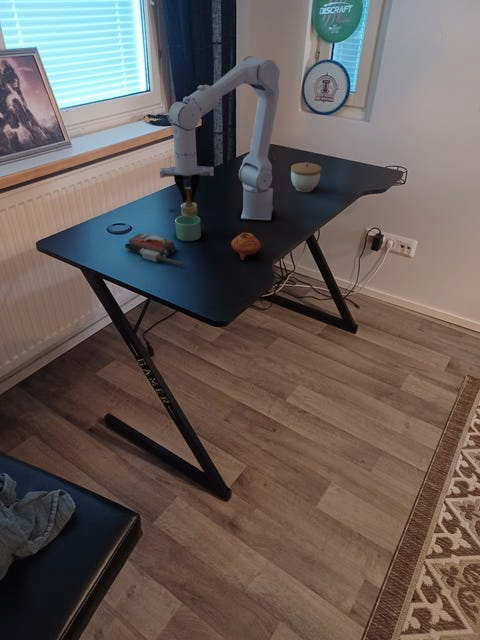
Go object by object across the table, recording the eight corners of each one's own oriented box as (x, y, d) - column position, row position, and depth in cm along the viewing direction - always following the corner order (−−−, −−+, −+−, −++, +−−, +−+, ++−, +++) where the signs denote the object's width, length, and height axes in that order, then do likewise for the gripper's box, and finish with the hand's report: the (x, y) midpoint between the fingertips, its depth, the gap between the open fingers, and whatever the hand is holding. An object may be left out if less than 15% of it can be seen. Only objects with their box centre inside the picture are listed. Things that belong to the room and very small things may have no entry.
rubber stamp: (197, 209, 134) (195, 184, 129) (197, 216, 130) (196, 190, 125) (181, 210, 133) (179, 185, 129) (181, 216, 129) (179, 191, 125)
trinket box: (315, 196, 160) (318, 169, 154) (286, 192, 163) (287, 165, 157) (322, 185, 168) (325, 159, 162) (293, 182, 171) (295, 156, 165)
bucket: (202, 230, 137) (202, 215, 134) (198, 241, 131) (197, 225, 128) (179, 229, 138) (178, 214, 135) (174, 240, 132) (172, 224, 129)
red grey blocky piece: (120, 253, 126) (181, 270, 118) (117, 239, 123) (180, 255, 116) (139, 240, 132) (198, 256, 125) (137, 226, 129) (198, 241, 122)
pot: (223, 255, 124) (226, 231, 121) (243, 252, 130) (246, 228, 127) (245, 264, 120) (249, 239, 117) (264, 260, 125) (268, 236, 122)
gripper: (212, 147, 125) (213, 194, 133) (158, 148, 124) (163, 196, 132) (213, 154, 119) (214, 204, 127) (157, 156, 118) (162, 206, 126)
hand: (188, 201), depth 129 cm, fingers closed on rubber stamp
